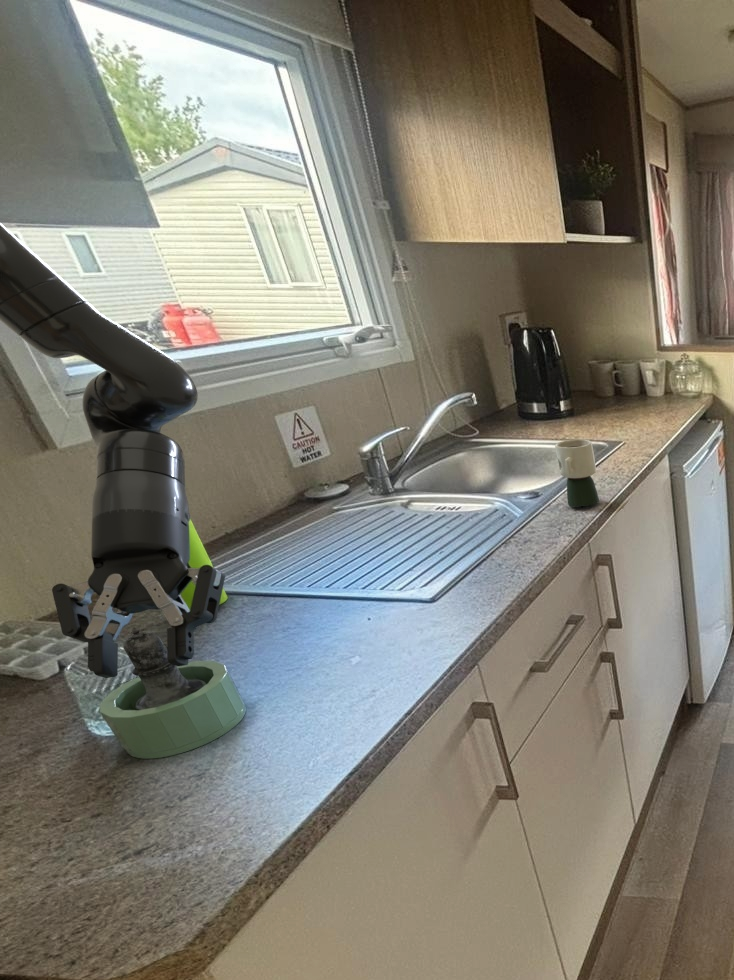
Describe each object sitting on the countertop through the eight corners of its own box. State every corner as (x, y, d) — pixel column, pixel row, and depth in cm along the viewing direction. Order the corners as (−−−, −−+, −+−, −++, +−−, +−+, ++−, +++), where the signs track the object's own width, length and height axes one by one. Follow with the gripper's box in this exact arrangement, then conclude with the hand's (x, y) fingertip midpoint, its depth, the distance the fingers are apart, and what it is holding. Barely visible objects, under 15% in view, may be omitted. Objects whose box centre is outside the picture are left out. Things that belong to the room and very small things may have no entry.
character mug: (575, 496, 142) (564, 436, 136) (608, 496, 142) (598, 436, 136) (558, 514, 132) (546, 450, 126) (593, 514, 132) (583, 450, 126)
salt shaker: (137, 733, 71) (78, 639, 66) (192, 701, 76) (143, 611, 71) (178, 741, 70) (122, 646, 64) (232, 708, 75) (185, 617, 69)
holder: (105, 769, 67) (77, 727, 65) (152, 711, 76) (129, 671, 73) (227, 744, 71) (204, 703, 68) (259, 691, 79) (240, 653, 77)
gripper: (28, 516, 66) (21, 677, 62) (201, 498, 71) (205, 647, 66) (85, 545, 73) (81, 692, 69) (239, 527, 78) (245, 664, 73)
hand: (142, 669), depth 68 cm, fingers open, 5 cm apart
